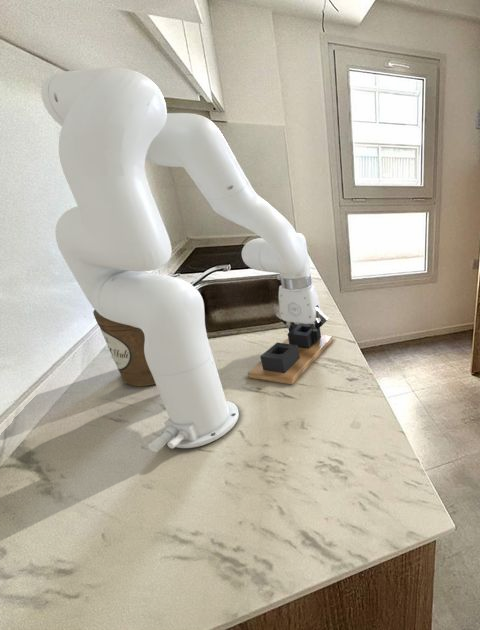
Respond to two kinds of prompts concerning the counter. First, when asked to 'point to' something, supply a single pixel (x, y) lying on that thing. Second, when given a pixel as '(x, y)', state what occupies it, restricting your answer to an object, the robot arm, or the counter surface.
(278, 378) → the wooden board
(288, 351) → the black hollow rectangular block
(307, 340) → the dark grey hollow block
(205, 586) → the counter surface
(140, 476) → the counter surface
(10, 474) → the counter surface
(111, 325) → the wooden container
